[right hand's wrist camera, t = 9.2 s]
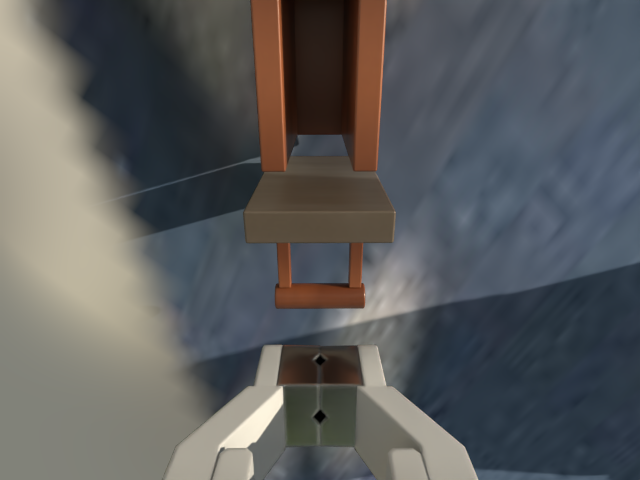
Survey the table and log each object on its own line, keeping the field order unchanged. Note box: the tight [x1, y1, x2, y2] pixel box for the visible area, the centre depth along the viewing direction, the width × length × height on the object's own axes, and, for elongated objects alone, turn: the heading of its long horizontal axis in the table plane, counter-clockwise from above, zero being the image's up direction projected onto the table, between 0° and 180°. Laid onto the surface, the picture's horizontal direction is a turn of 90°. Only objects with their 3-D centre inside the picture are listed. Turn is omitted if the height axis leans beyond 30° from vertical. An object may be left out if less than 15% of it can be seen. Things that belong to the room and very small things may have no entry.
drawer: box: [243, 0, 396, 309], centre depth 16 cm, size 22×5×9 cm, turn 0°
